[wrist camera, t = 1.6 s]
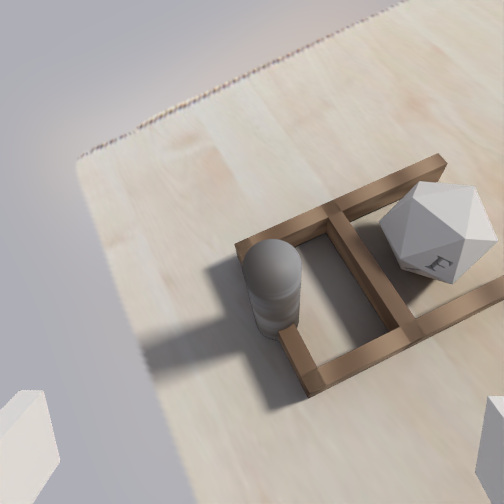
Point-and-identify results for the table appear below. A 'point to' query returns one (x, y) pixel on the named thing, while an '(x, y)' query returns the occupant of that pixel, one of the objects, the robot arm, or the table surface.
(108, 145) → the table surface
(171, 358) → the table surface
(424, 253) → the die
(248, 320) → the table surface
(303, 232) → the frame
